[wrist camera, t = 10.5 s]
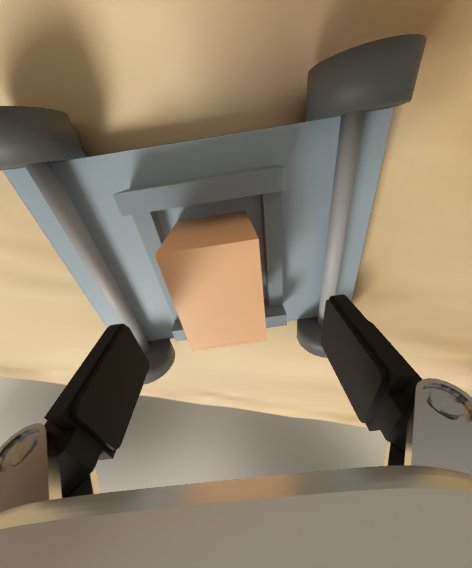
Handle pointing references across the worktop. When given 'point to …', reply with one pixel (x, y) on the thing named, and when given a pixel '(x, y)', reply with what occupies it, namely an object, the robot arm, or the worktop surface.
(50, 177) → the chassis
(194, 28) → the worktop surface
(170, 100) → the worktop surface
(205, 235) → the block
